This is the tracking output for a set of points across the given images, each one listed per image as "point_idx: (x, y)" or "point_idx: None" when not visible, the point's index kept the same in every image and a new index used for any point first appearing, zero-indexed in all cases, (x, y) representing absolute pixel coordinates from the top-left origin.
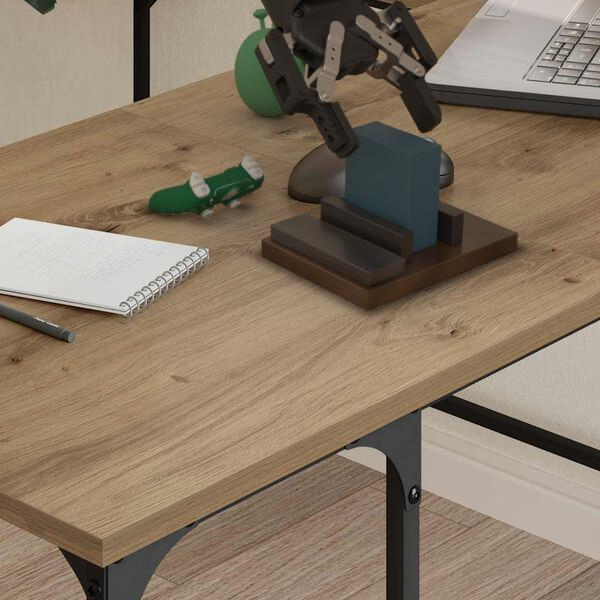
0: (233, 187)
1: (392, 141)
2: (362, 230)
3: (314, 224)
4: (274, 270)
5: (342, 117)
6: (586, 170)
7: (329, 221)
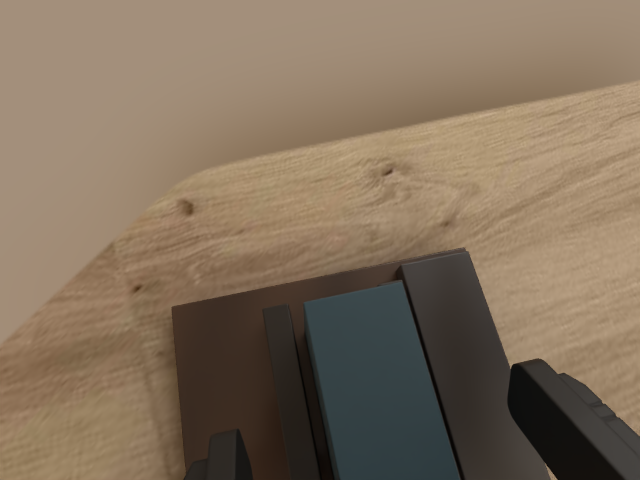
0: None
1: (399, 385)
2: None
3: (481, 449)
4: None
5: (591, 426)
6: None
7: None
